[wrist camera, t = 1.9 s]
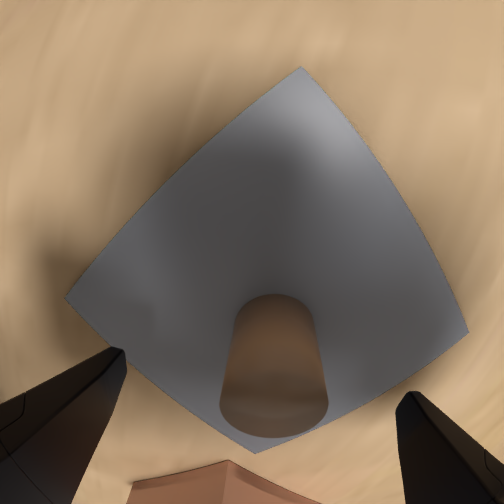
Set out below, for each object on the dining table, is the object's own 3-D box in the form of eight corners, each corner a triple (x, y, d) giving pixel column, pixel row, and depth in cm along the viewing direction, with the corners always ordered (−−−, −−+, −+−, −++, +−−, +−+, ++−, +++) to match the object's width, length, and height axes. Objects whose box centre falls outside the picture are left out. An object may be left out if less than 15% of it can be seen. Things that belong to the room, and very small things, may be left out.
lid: (72, 290, 12) (11, 349, 8) (299, 71, 9) (321, 19, 4) (255, 443, 15) (250, 512, 11) (461, 323, 12) (511, 388, 7)
